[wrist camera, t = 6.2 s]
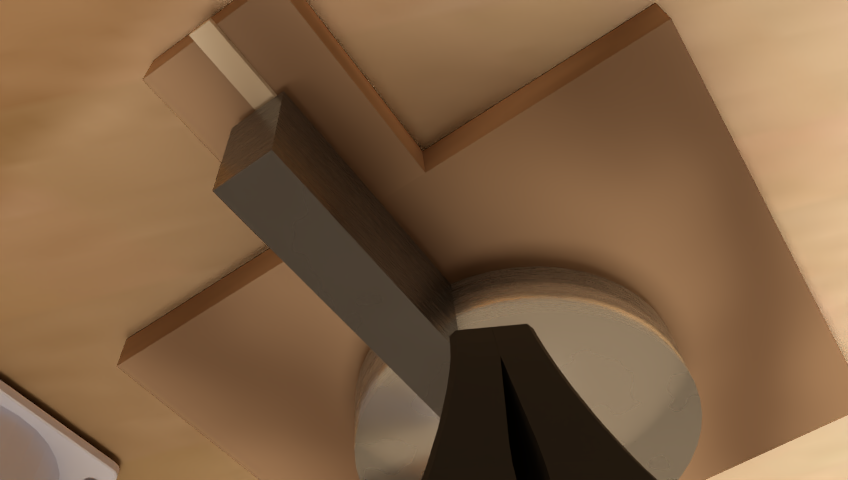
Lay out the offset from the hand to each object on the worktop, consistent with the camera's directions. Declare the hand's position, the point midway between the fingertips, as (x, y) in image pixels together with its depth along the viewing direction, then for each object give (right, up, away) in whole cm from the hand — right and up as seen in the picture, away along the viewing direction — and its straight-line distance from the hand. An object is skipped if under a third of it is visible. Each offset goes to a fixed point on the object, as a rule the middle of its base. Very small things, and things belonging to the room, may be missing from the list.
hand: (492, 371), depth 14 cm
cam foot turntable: (0, 0, +9) cm, 9 cm away
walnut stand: (0, 0, +11) cm, 11 cm away
